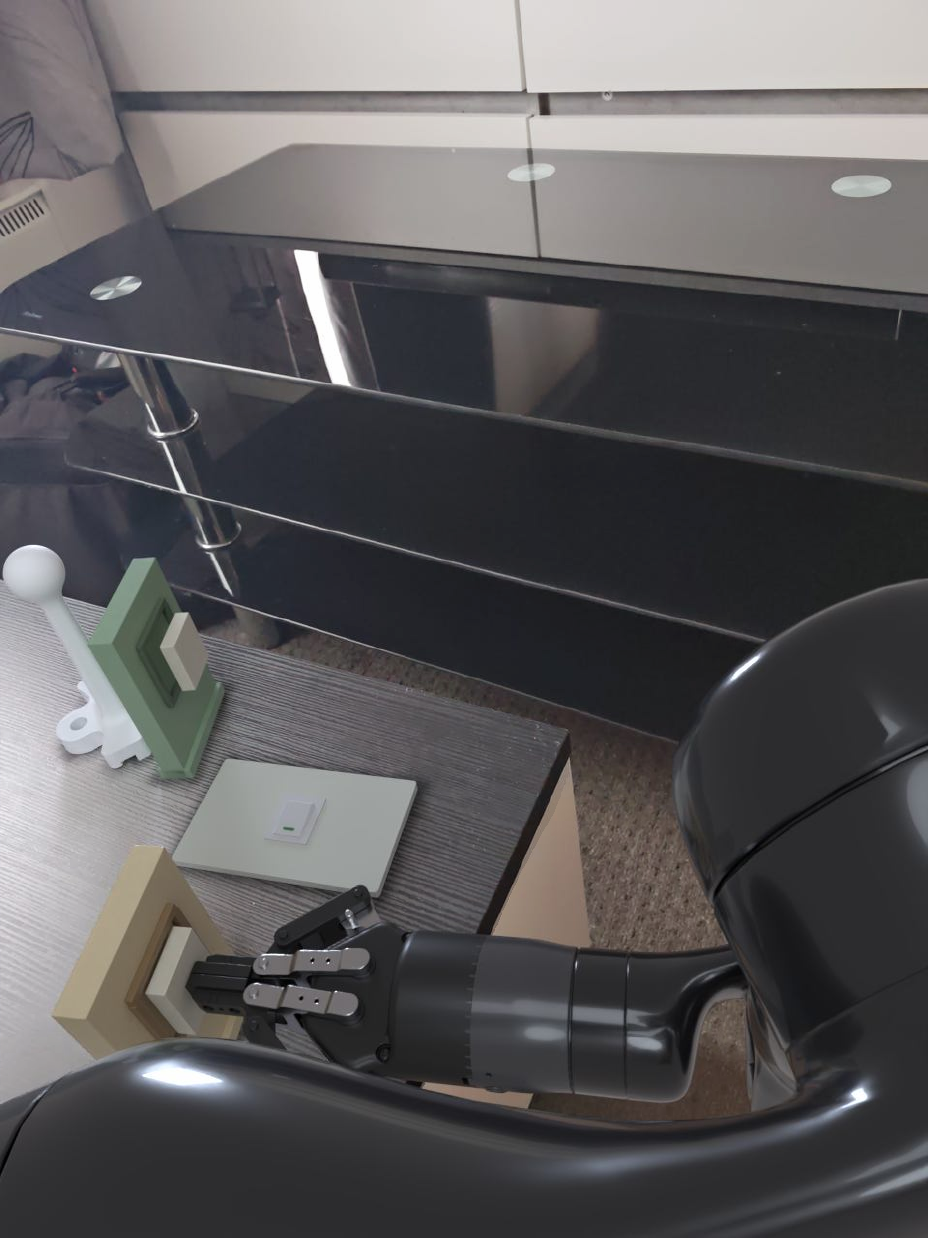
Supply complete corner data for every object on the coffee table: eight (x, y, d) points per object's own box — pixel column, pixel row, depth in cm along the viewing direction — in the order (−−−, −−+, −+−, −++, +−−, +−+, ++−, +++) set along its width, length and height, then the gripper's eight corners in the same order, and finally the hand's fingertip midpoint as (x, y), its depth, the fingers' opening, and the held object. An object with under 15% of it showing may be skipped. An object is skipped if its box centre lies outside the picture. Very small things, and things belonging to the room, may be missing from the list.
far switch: (209, 655, 77) (188, 611, 74) (196, 690, 74) (173, 646, 71) (196, 656, 77) (174, 612, 74) (182, 691, 74) (159, 647, 71)
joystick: (164, 748, 80) (63, 574, 67) (80, 790, 78) (-41, 619, 65) (132, 677, 88) (36, 507, 75) (55, 713, 86) (-58, 546, 73)
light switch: (415, 777, 72) (375, 890, 65) (418, 786, 73) (379, 899, 66) (224, 754, 77) (168, 857, 70) (228, 763, 78) (173, 866, 71)
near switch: (220, 969, 56) (192, 927, 52) (196, 1035, 53) (164, 995, 49) (202, 967, 56) (173, 925, 53) (177, 1033, 53) (144, 993, 50)
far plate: (225, 691, 85) (161, 556, 74) (194, 778, 77) (118, 642, 67) (195, 692, 85) (126, 559, 74) (161, 779, 78) (80, 645, 67)
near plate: (257, 978, 63) (172, 846, 52) (204, 1136, 56) (94, 1020, 45) (217, 975, 64) (125, 843, 53) (160, 1130, 56) (41, 1015, 46)
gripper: (498, 862, 51) (213, 845, 55) (459, 1116, 41) (117, 1075, 45) (514, 930, 56) (251, 911, 60) (482, 1172, 46) (173, 1130, 50)
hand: (194, 982), depth 52 cm, fingers closed
